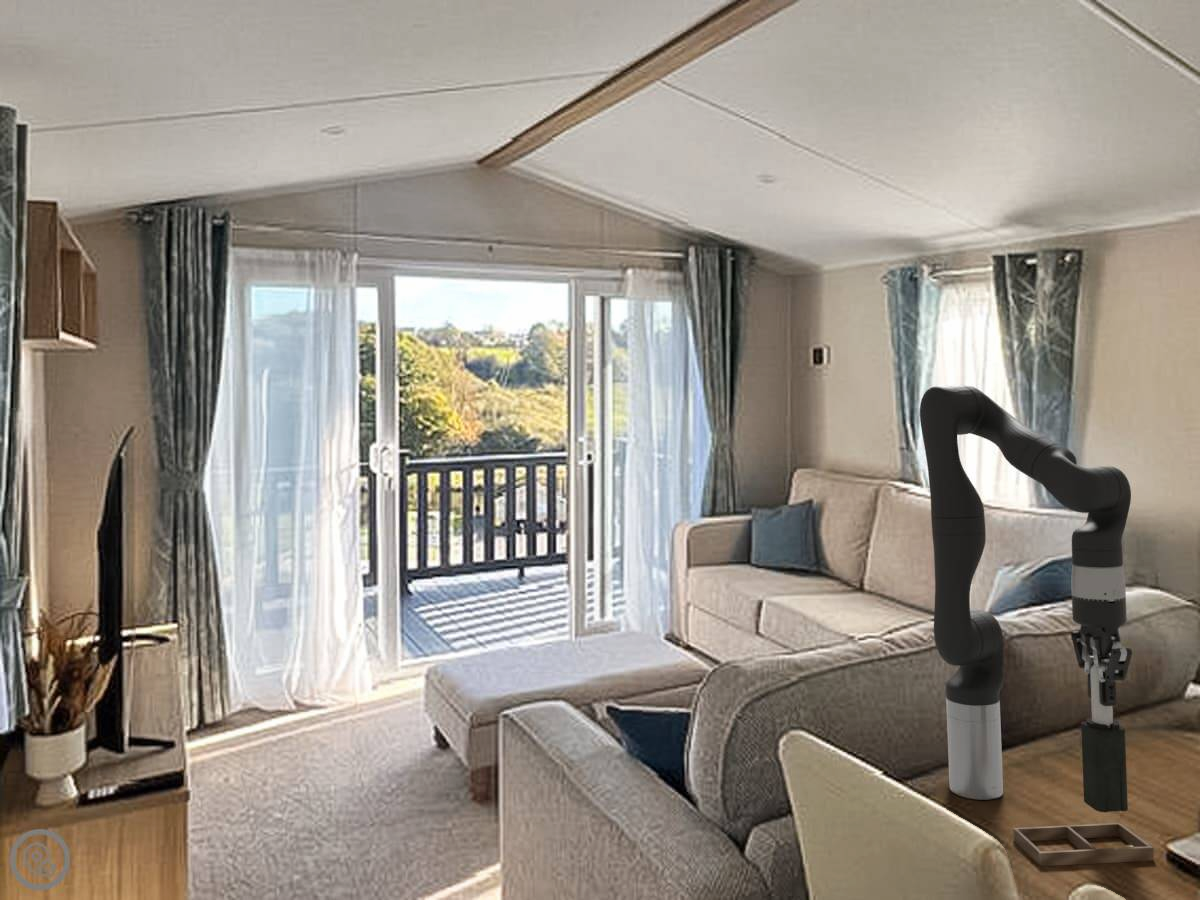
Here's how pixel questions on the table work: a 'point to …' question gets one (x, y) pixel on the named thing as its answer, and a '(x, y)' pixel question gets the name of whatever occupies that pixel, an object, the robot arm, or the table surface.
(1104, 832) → the divided wooden tray
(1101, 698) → the robot arm
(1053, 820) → the table surface
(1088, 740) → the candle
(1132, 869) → the table surface
